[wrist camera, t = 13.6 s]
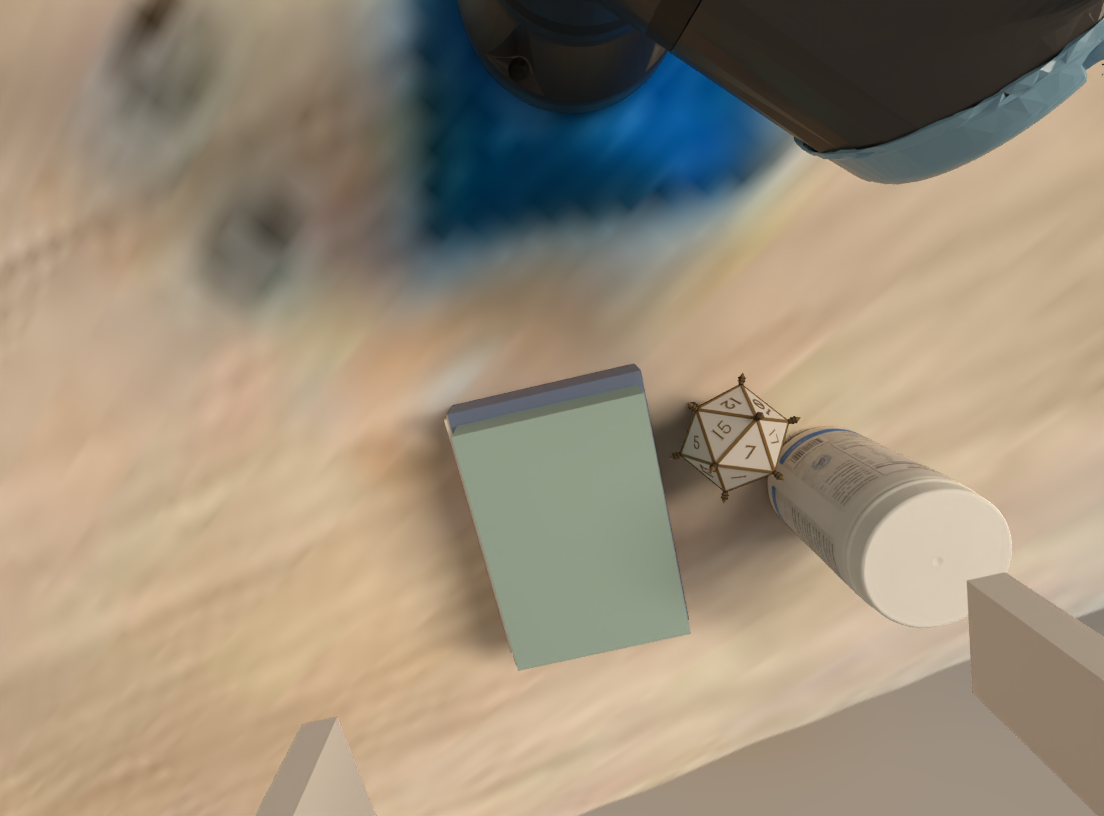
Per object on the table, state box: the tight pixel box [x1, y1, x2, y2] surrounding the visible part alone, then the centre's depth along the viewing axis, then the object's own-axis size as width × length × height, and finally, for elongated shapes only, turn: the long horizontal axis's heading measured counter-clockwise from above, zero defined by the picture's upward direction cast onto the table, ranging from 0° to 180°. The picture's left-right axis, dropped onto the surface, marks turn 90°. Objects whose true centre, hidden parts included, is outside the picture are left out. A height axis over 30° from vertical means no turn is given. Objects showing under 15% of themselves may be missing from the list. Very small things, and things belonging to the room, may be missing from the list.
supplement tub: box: [768, 426, 1012, 628], centre depth 41 cm, size 10×10×15 cm
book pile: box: [444, 364, 691, 671], centre depth 45 cm, size 22×15×6 cm
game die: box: [670, 373, 800, 503], centre depth 42 cm, size 9×8×10 cm
